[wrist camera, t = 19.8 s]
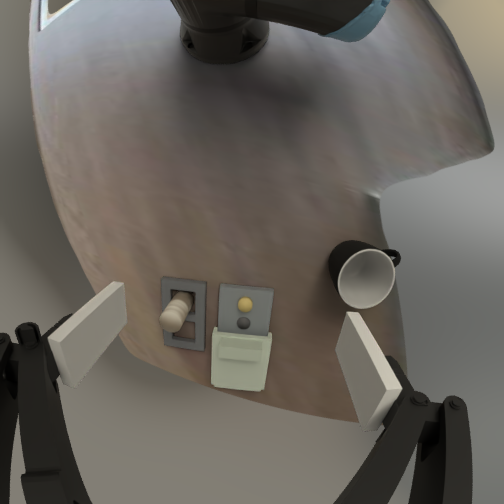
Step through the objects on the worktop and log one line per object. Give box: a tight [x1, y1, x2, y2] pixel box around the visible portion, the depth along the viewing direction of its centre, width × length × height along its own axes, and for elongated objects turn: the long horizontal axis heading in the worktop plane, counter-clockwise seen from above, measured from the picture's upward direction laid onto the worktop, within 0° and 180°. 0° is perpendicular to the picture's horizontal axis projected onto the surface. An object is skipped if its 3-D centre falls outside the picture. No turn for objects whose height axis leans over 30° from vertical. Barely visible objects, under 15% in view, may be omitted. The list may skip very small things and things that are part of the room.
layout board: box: [218, 283, 274, 337], centre depth 47 cm, size 12×9×3 cm
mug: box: [329, 240, 401, 309], centre depth 40 cm, size 12×9×10 cm
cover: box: [211, 327, 272, 391], centre depth 47 cm, size 13×10×5 cm
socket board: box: [161, 276, 207, 351], centre depth 49 cm, size 14×8×1 cm, turn 175°
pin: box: [159, 290, 194, 333], centre depth 44 cm, size 4×4×9 cm
